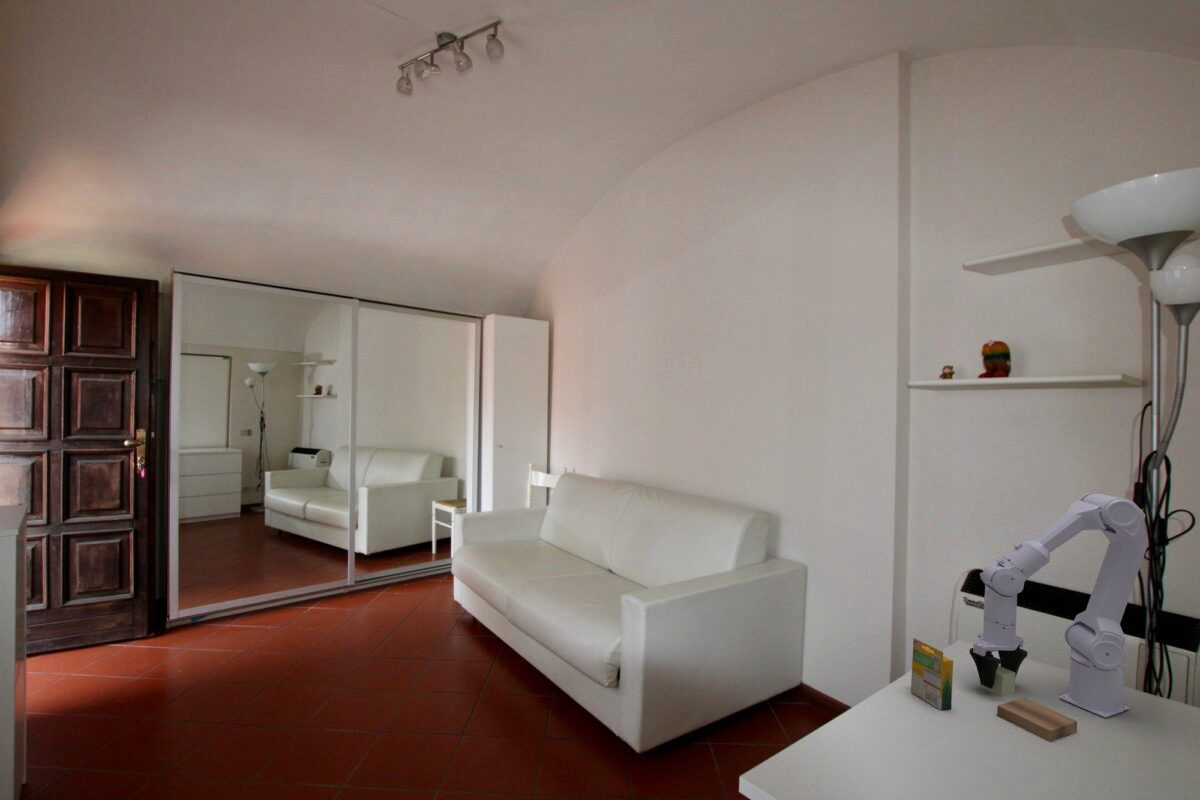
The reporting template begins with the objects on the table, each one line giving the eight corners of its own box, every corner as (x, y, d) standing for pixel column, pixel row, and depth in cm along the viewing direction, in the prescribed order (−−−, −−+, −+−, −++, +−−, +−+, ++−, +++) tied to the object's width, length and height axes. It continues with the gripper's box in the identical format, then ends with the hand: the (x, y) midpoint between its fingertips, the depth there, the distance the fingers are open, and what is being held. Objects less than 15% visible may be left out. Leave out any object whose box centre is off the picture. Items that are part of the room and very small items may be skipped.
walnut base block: (1023, 709, 112) (1024, 697, 112) (1076, 734, 104) (1077, 721, 104) (997, 718, 108) (997, 705, 108) (1050, 744, 100) (1050, 730, 100)
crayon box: (952, 709, 110) (954, 651, 110) (940, 711, 109) (943, 652, 109) (921, 690, 117) (923, 636, 117) (910, 692, 116) (912, 637, 116)
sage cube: (992, 683, 122) (993, 663, 122) (1014, 693, 118) (1015, 672, 118) (979, 687, 120) (980, 666, 120) (1002, 697, 116) (1002, 675, 116)
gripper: (1000, 610, 126) (997, 669, 125) (959, 617, 120) (957, 679, 119) (1034, 621, 119) (1032, 684, 119) (994, 630, 113) (991, 695, 113)
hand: (997, 683), depth 119 cm, fingers open, 7 cm apart
